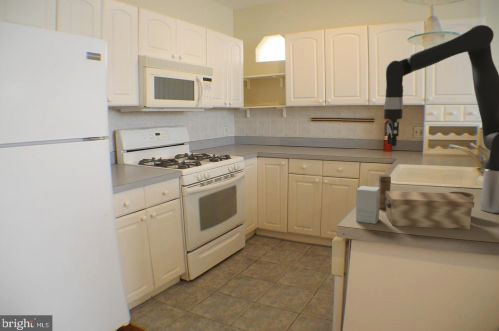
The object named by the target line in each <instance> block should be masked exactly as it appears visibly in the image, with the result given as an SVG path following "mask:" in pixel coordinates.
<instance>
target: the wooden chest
mask: <svg viewBox="0 0 499 331" xmlns="http://www.w3.org/2000/svg"><path fill="white" fill-rule="evenodd" d="M386 197H387V200H385V205H386V206H387V207H386V209H385V210H386V212H385V216H387V217H386V218H387V219H388V222H389V224H390V225H391V224H392V225H391V226H393V225H396V226H397V227H413V228H414V227H417V228H418V227H419V228H433V229H434V228H435V229H438V228H439V229H453V228H459V230H471V220H472V219H471V218H472V212H473V211H472V210H473V208H475V201H474V200H473V201H472V200H470V199H468V198H467V197H465V196H463V195H462V194H458V193H448V192H425V191H423V192H422V191H397V190H396V191H395V190H394V191H393V190H390V191H386ZM396 226H395V227H396Z"/></svg>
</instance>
